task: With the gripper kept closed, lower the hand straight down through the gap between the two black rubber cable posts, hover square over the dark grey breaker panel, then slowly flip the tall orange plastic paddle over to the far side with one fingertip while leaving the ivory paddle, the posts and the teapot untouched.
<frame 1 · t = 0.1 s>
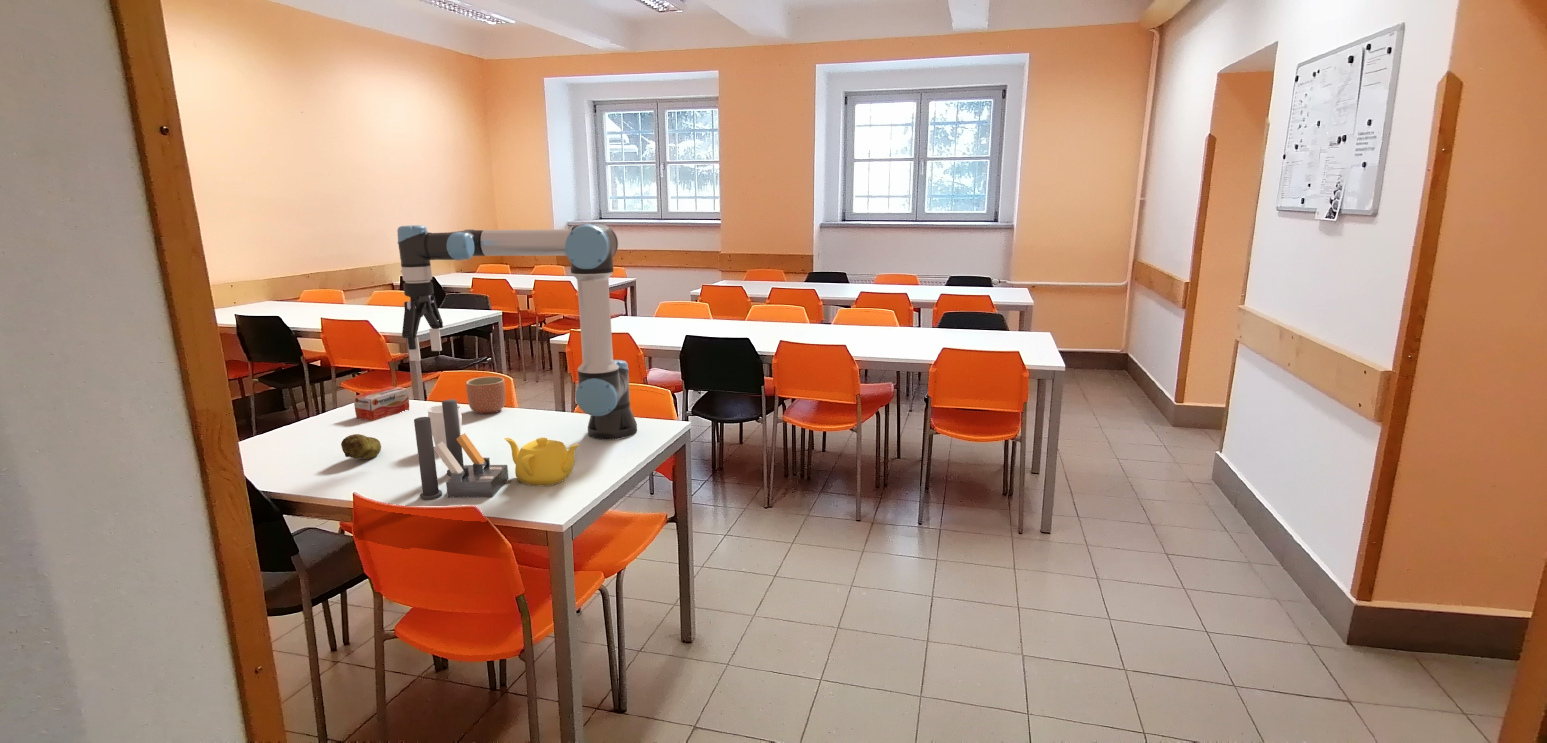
hand: (426, 355, 216), 28 cm above the table, fingers open, 13 cm apart
cable post 2: (457, 472, 203), on the table
orange paddle: (472, 452, 193), point 9 cm above the table, hinge at 30.0°
medicine box: (383, 415, 258), on the table
potato: (365, 459, 214), on the table
ivory paddle: (449, 460, 186), point 9 cm above the table, hinge at 30.0°, touching cable post 1
breaker panel: (479, 487, 192), on the table
cable post 1: (431, 496, 187), on the table
teapot: (542, 480, 197), on the table
cup: (448, 448, 223), on the table
planter: (488, 411, 260), on the table
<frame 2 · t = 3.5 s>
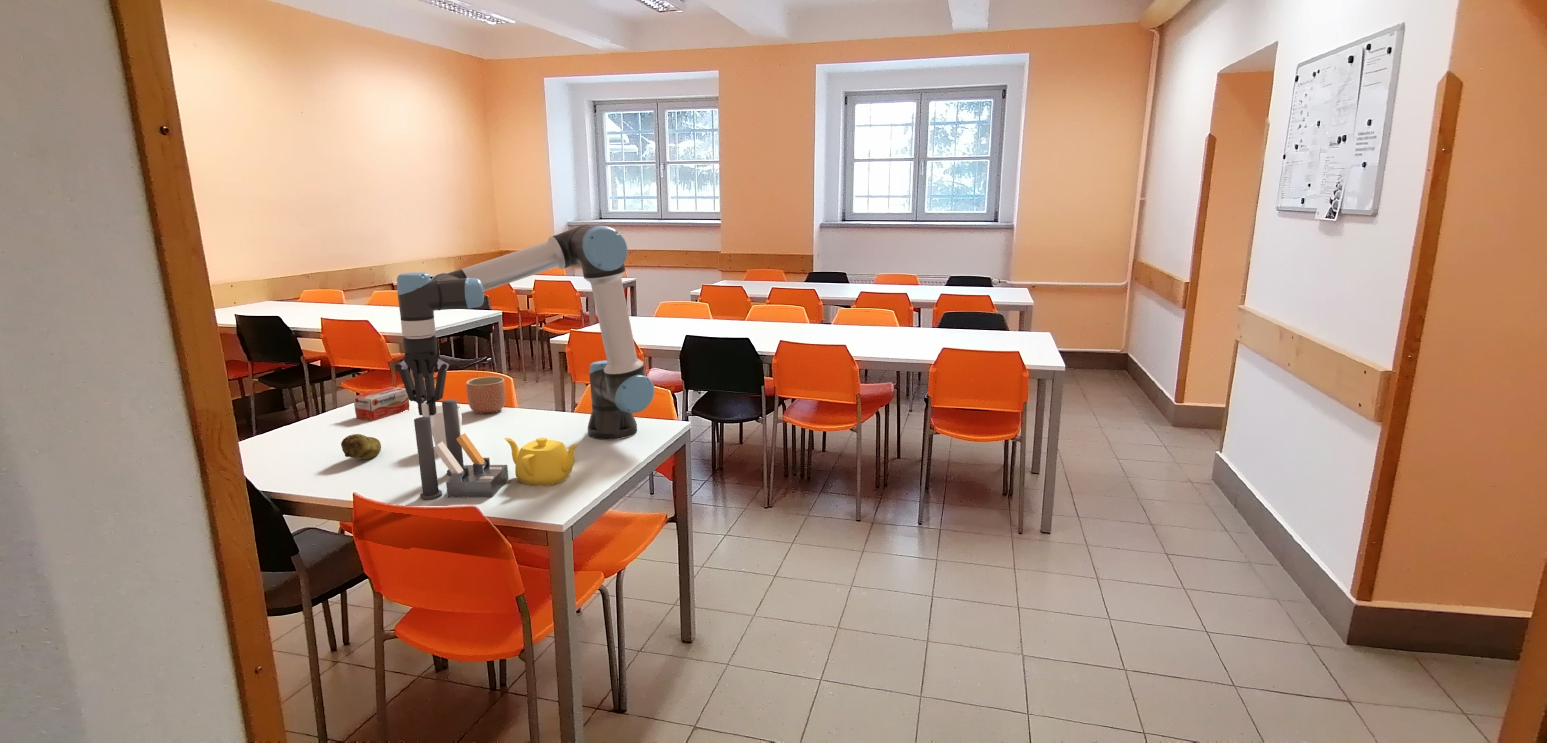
hand: (429, 427, 191), 15 cm above the table, fingers closed
nothing on the table moved.
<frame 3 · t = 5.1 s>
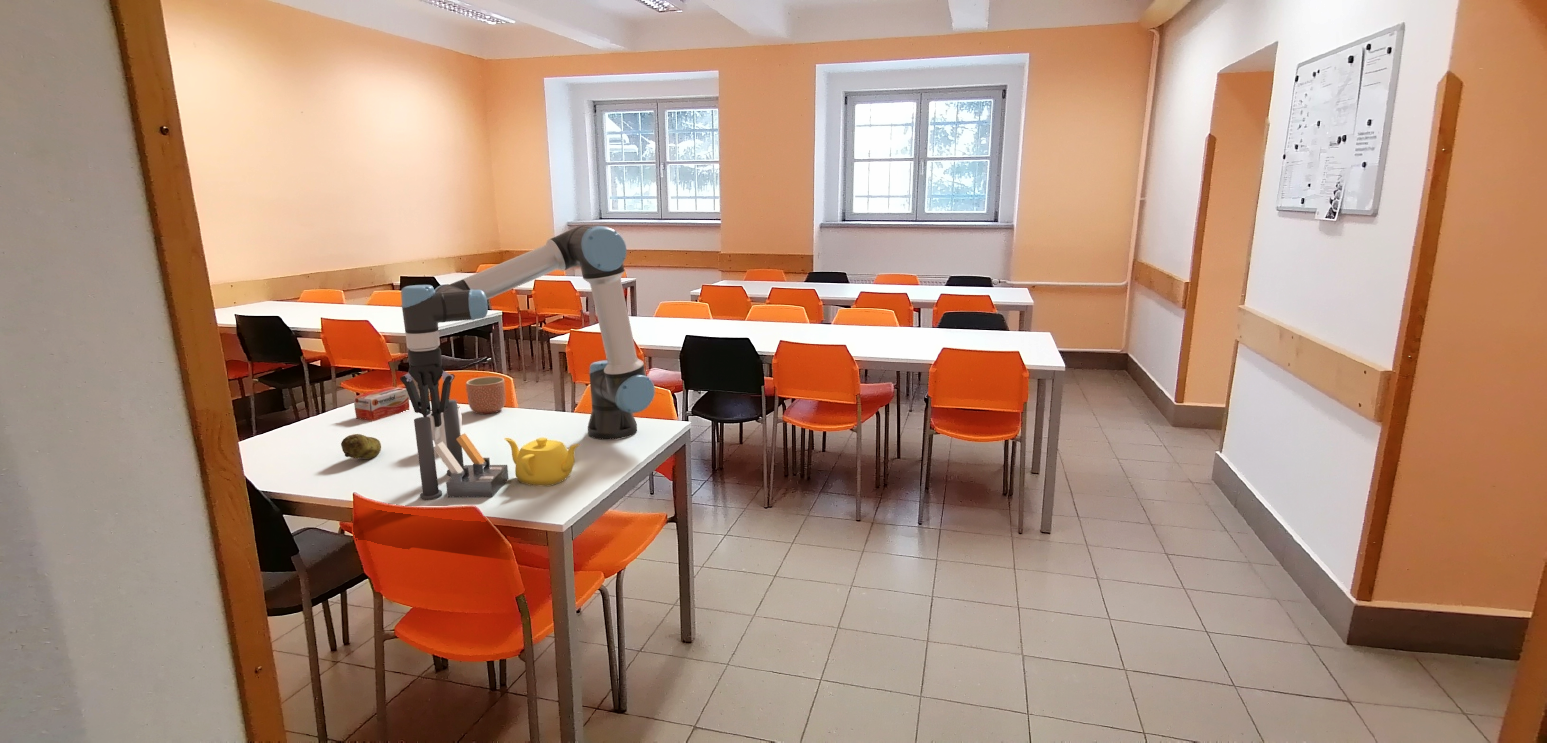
hand: (434, 438, 192), 12 cm above the table, fingers closed
nothing on the table moved.
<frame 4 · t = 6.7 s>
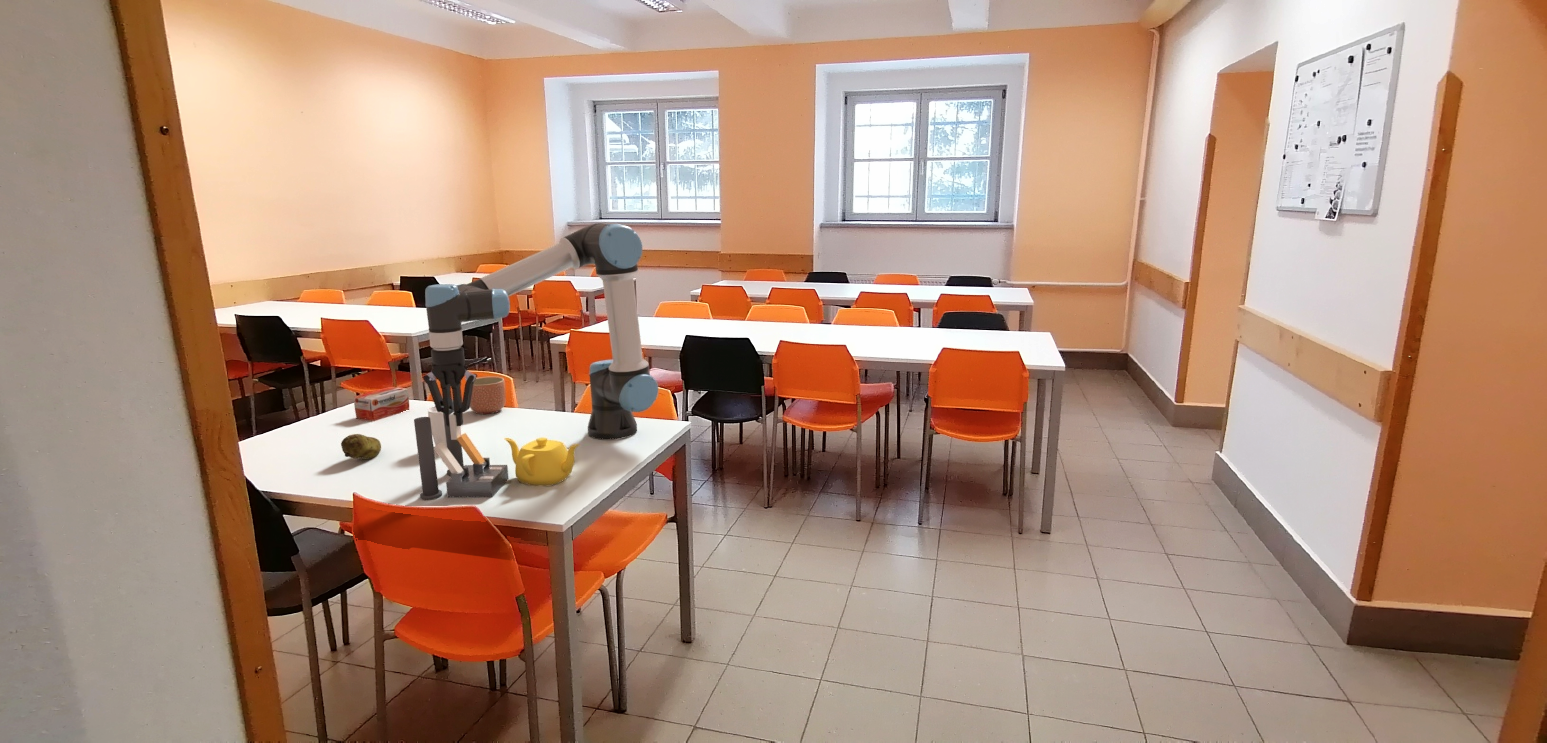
hand: (456, 437, 192), 12 cm above the table, fingers closed
orange paddle: (472, 451, 193), point 9 cm above the table, hinge at 29.0°, touching gripper
everything else where it was.
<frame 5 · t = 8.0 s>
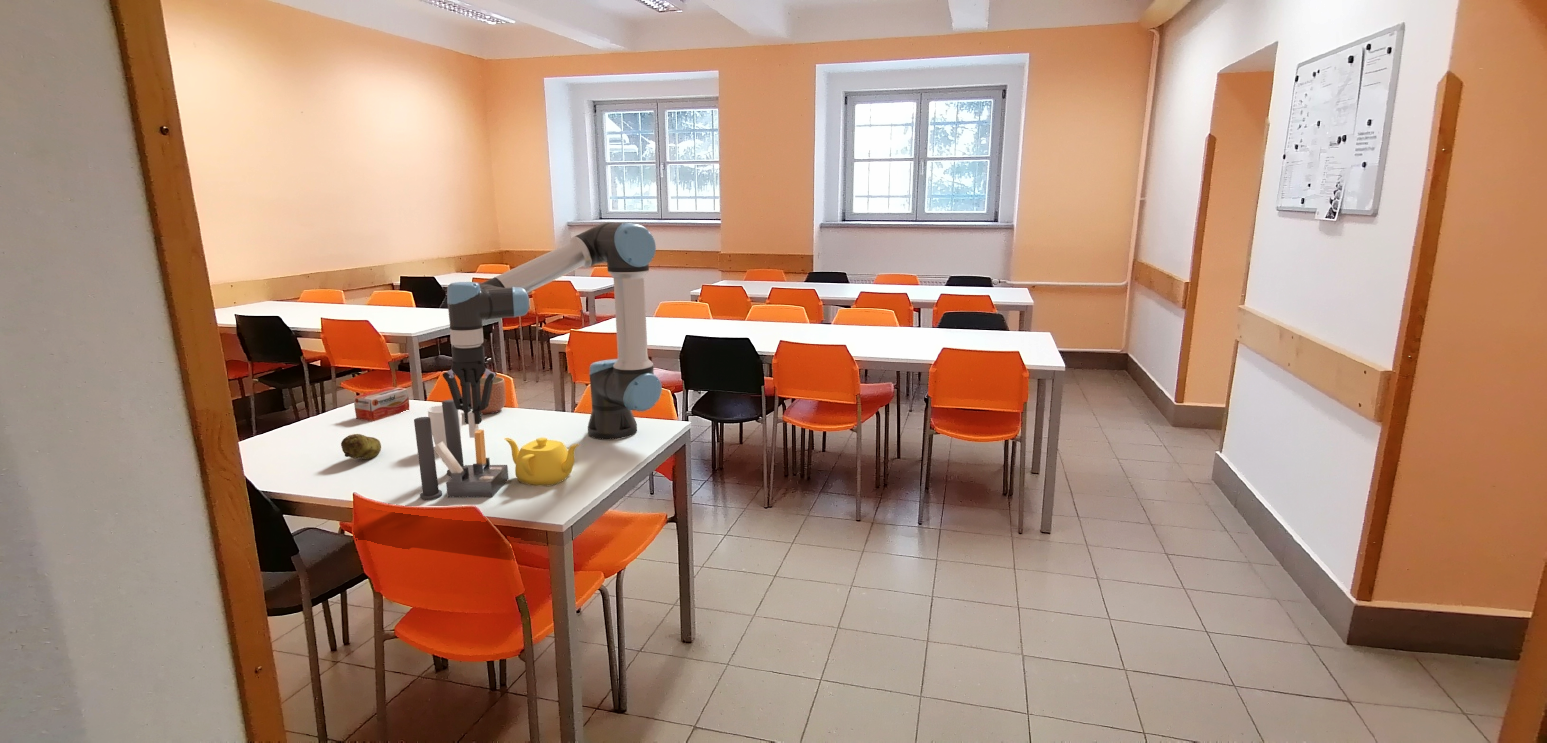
hand: (474, 435, 192), 13 cm above the table, fingers closed
orange paddle: (480, 449, 193), point 9 cm above the table, hinge at -1.5°, touching gripper
everything else where it was.
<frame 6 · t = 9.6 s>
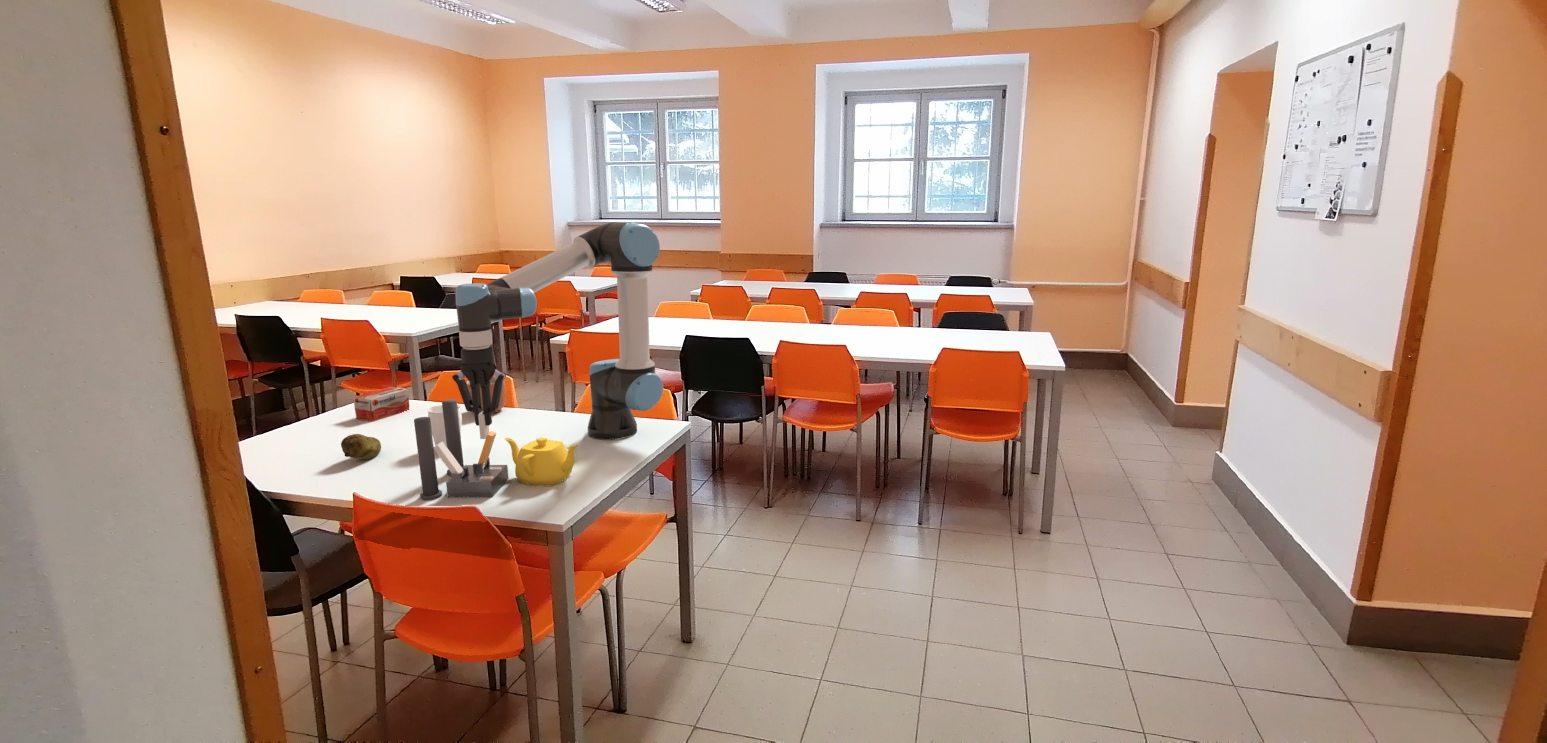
hand: (485, 437, 192), 13 cm above the table, fingers closed
orange paddle: (486, 450, 193), point 9 cm above the table, hinge at -21.9°, touching gripper
everything else where it was.
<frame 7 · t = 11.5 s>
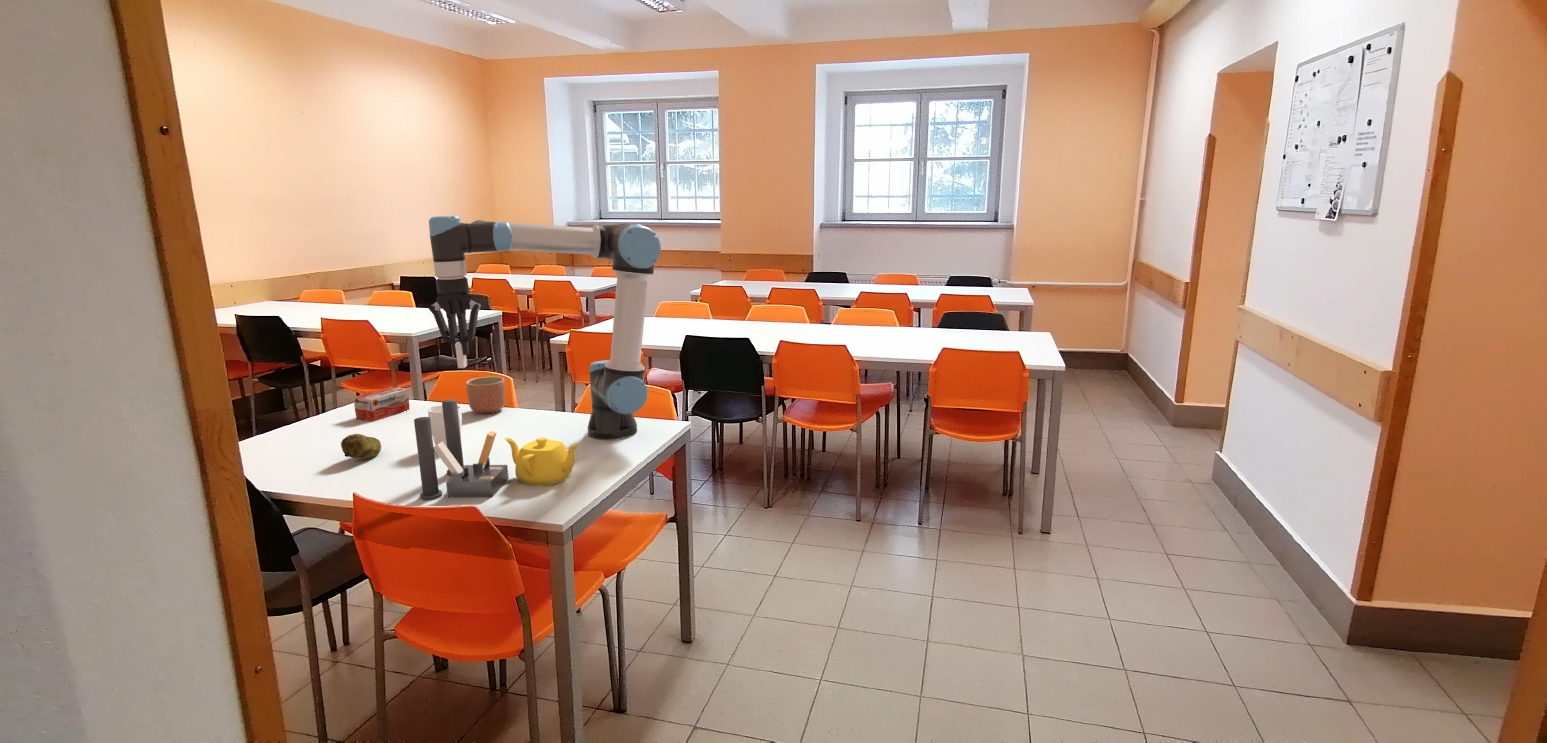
hand: (462, 366, 198), 29 cm above the table, fingers closed
orange paddle: (486, 450, 193), point 9 cm above the table, hinge at -22.0°
everything else where it was.
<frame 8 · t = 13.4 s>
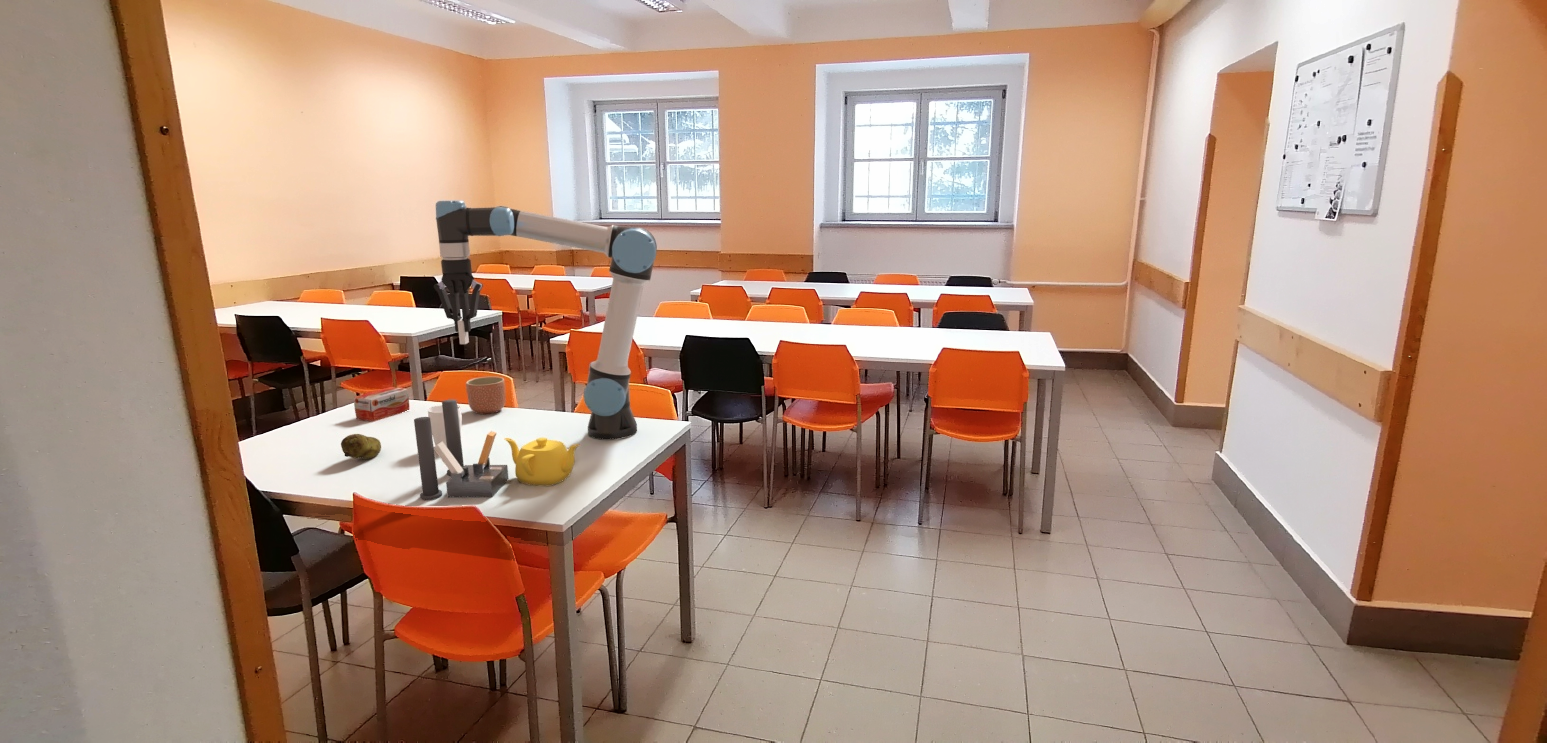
hand: (464, 343, 211), 32 cm above the table, fingers closed
nothing on the table moved.
at the end: orange paddle at -22° (first picture: +30°); ivory paddle at +30° (first picture: +30°); teapot moved 0.3 cm from its start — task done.
